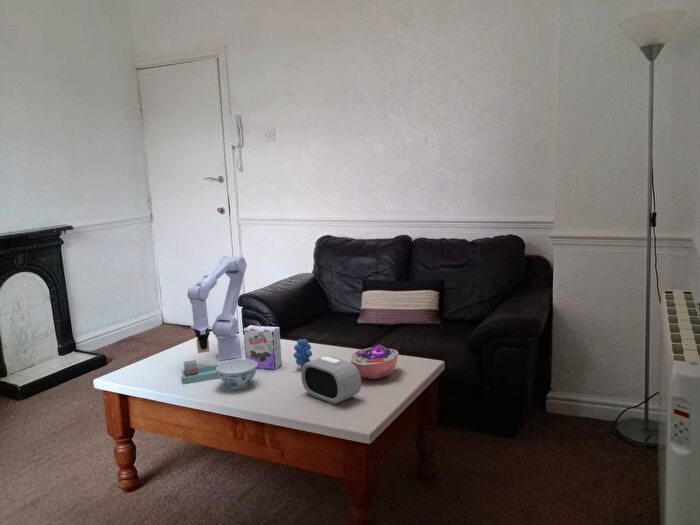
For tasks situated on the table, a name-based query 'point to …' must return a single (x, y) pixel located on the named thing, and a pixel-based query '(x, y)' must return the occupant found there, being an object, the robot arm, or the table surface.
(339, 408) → the table surface
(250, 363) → the chinaware
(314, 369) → the alarm clock
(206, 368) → the tray
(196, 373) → the tin
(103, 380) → the table surface
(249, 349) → the candy box
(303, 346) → the grapes
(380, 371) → the cell model
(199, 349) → the carton
